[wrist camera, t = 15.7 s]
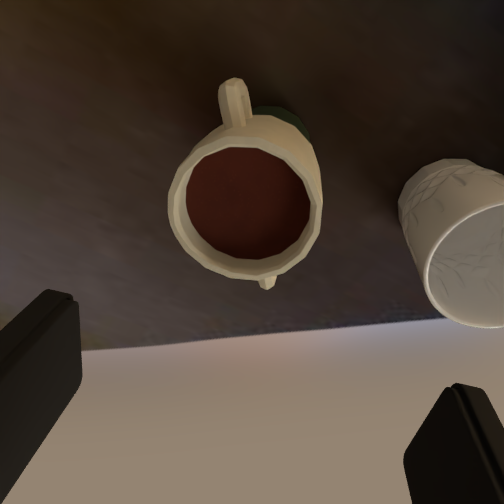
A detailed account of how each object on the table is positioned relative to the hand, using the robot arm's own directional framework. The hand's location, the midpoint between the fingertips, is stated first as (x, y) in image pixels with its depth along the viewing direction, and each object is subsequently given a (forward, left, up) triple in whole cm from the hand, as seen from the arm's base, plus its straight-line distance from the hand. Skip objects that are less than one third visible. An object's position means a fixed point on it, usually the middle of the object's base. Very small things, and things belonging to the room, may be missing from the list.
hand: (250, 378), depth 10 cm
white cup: (0, +12, -22) cm, 25 cm away
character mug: (0, -2, -22) cm, 22 cm away
